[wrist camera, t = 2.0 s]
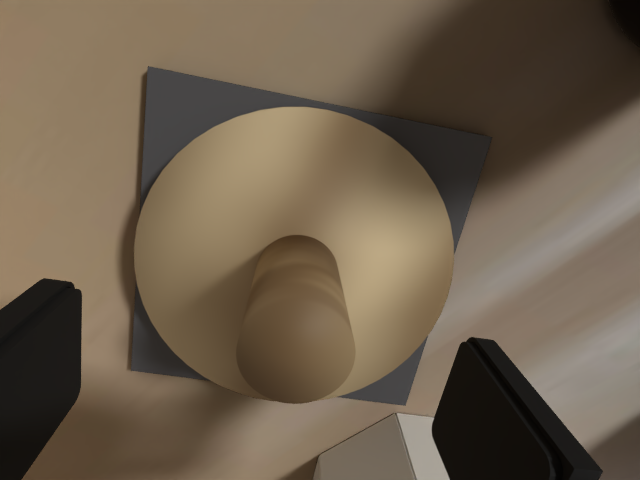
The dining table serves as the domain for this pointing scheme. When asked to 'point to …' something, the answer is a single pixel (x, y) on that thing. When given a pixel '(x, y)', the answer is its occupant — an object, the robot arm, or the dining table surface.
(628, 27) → the supplement bottle
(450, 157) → the mat
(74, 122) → the dining table surface
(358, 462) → the bowl
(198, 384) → the dining table surface
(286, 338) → the lid
